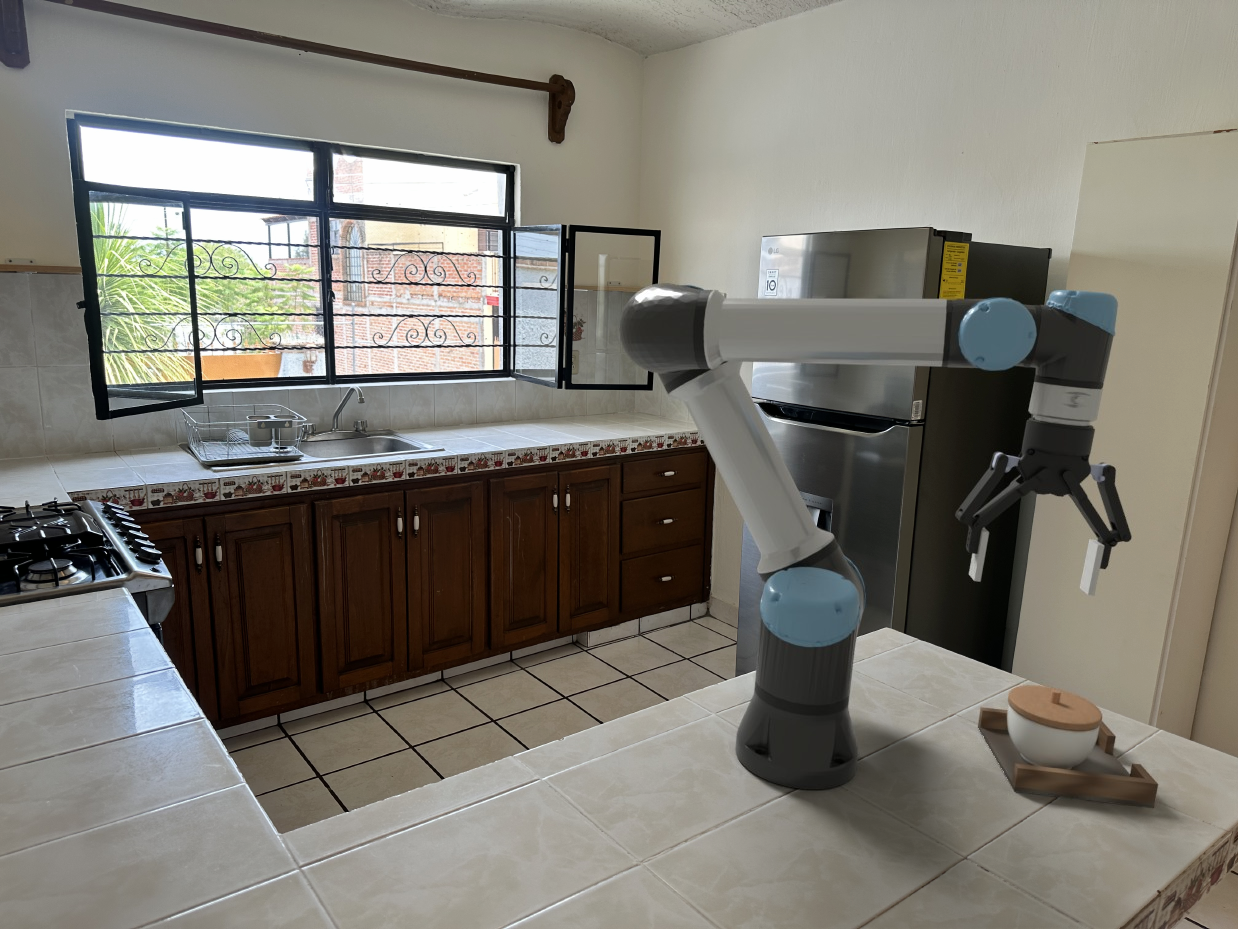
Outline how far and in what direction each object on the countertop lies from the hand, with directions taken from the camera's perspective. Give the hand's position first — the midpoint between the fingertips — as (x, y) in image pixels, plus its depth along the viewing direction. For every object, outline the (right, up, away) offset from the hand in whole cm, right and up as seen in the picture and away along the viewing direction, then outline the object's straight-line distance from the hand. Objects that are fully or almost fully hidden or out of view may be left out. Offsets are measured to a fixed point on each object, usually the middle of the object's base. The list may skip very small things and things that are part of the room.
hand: (1030, 585), depth 107 cm
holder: (+4, -23, +2) cm, 24 cm away
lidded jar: (+3, -23, +2) cm, 23 cm away
